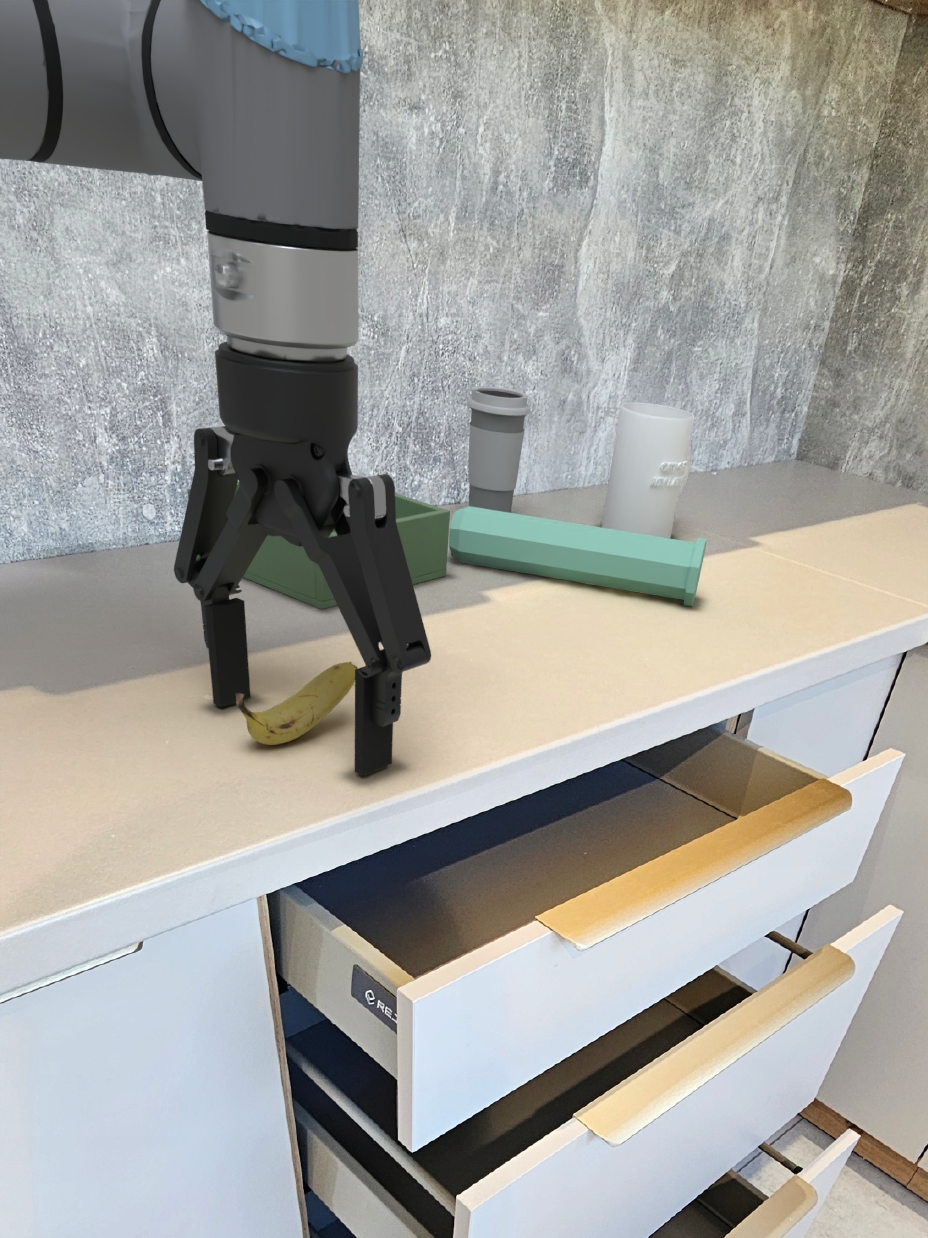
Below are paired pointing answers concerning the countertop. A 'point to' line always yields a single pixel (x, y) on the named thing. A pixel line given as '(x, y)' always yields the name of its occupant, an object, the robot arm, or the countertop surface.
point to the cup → (495, 445)
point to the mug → (648, 468)
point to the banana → (300, 707)
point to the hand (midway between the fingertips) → (300, 733)
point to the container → (577, 552)
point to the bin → (304, 578)
